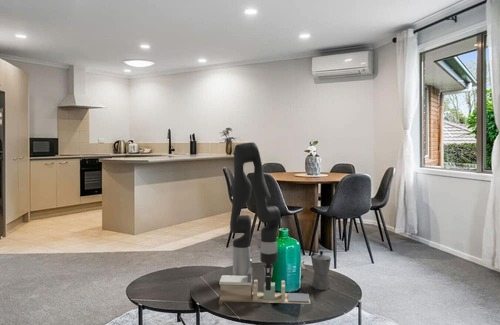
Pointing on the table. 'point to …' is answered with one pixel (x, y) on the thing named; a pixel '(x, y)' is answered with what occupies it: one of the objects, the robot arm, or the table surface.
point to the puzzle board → (252, 294)
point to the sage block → (269, 291)
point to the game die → (302, 269)
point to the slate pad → (297, 297)
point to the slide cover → (237, 279)
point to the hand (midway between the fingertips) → (268, 286)
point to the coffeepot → (320, 271)
